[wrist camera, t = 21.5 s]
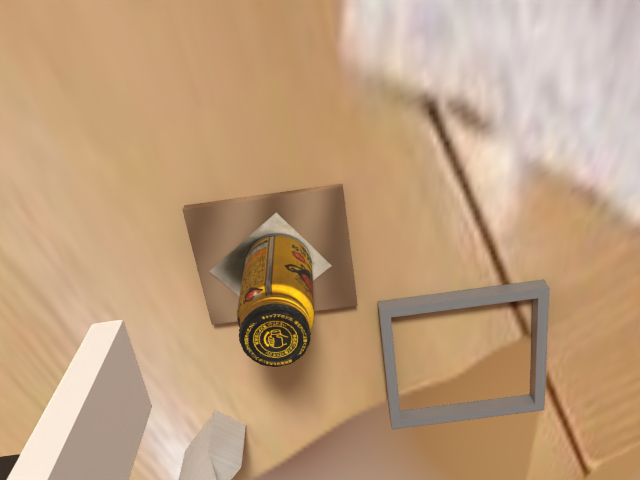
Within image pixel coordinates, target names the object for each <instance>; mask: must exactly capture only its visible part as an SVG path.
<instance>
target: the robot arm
mask: <svg viewBox="0 0 640 480" xmlns="http://www.w3.org/2000/svg"><path fill="white" fill-rule="evenodd" d="M151 408H152V405H151V402H150V399H149V396H148V393H147V390H146V387H145V384H144V381H143V378H142V375H141V372H140V369H139V366H138V363H137V360H136V357H135V354H134V351H133V348H132V345H131V342H130V339H129V336H128V333H127V330H126V327H125V324H124V321H123V320H118V321H111V322H103V323H95V324H92V326H91V327H90V329H89V331H88V333H87V335H86V337H85V338H84V340H83V342H82V344H81V346H80V347H79V349H78V351H77V353H76V355H75V357H74V358H73V360H72V362H71V364H70V366H69V367H68V369H67V371H66V373H65V375H64V377H63V378H62V380H61V382H60V384H59V386H58V387H57V389H56V391H55V393H54V395H53V396H52V398H51V400H50V402H49V404H48V406H47V407H46V409H45V411H44V413H43V415H42V416H41V418H40V420H39V422H38V424H37V426H36V427H35V429H34V431H33V433H32V435H31V436H30V438H29V440H28V442H27V444H26V446H25V447H24V449H23V451H22V453H21V454H19V455H11V456H3V457H0V480H129V477H130V473H131V470H132V467H133V464H134V461H135V458H136V455H137V452H138V448H139V445H140V442H141V439H142V436H143V433H144V430H145V427H146V424H147V420H148V417H149V414H150V411H151Z"/></svg>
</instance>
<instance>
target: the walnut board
mask: <svg viewBox="0 0 640 480" xmlns="http://www.w3.org/2000/svg"><path fill="white" fill-rule="evenodd" d="M275 213H277V214H278V215H279V216H280V217H281V218H283V219H284V220H285V221H286V222H287V223H288V224H289V225H290V226H291V227H292V228H293V229H294V230H295V231H297V232H298V233H299V234H300V235H301V236H302V237H303V238H304V239H305V240H306V241H307V242H308V243H309V244H310V245H311V246H312V247H313V248H314V249H315V250H316V251H317V252H318V253H319V254H320V255H321V256H322V257H323V258H324V259H325V260H326V261H327V262H328V263H329V264H330V265H331V266H332V267H330V268H328V269H327V270H326V271H325V272H323V273H322V274H321V275H320V276H318V277H317V278H316V279H315V280H313V298H314V310H315V311H320V310H327V309H335V308H343V307H350V306H357V298H356V290H355V281H354V273H353V265H352V257H351V249H350V241H349V233H348V225H347V217H346V209H345V201H344V193H343V186H342V184H338V185H331V186H324V187H317V188H309V189H302V190H295V191H288V192H280V193H273V194H266V195H259V196H251V197H244V198H237V199H229V200H222V201H215V202H208V203H200V204H193V205H186V206H184V208H183V214H184V218H185V222H186V226H187V229H188V233H189V237H190V241H191V245H192V249H193V253H194V257H195V261H196V265H197V268H198V272H199V276H200V280H201V284H202V288H203V292H204V296H205V300H206V304H207V308H208V311H209V315H210V319H211V323H212V325H214V324H221V323H229V322H236V321H238V320H237V309H238V302H239V296H238V295H237V294H236V293H235V292H234V291H232V290H231V289H230V288H229V287H228V286H226V285H225V284H224V283H223V282H222V281H220V280H219V279H218V278H217V277H215V276H214V275H213V274H212V273H210V272H209V271H210V270H211V269H212V268H214V267H215V266H216V265H217V264H218V263H219V262H220V261H221V260H222V259H224V258H225V257H226V256H227V255H228V254H229V253H231V252H232V251H233V250H234V249H235V248H237V247H238V246H239V245H240V244H241V243H242V242H243V241H244V240H245V239H246V238H247V237H249V236H250V235H251V234H252V233H253V232H254V231H255V230H257V229H258V228H259V227H260V226H261V225H262V224H263V223H265V222H266V221H267V220H268V219H269V218H271V217H272V216H273V215H274V214H275Z"/></svg>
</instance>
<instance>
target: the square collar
mask: <svg viewBox="0 0 640 480" xmlns="http://www.w3.org/2000/svg"><path fill="white" fill-rule="evenodd" d="M528 299H533V300H532V335H531V370H530V394H529V395H521V396H514V397H505V398H498V399H489V400H482V401H474V402H466V403H458V404H450V405H442V406H435V407H426V408H419V409H411V410H403V411H400V407H399V396H398V385H397V375H396V365H395V354H394V344H393V333H392V323H391V317H399V316H406V315H414V314H421V313H429V312H437V311H444V310H452V309H460V308H467V307H475V306H482V305H490V304H498V303H505V302H513V301H521V300H528ZM548 309H549V286H548V285H547V284H546V282H545V281H544V280H538V281H530V282H523V283H515V284H507V285H500V286H492V287H485V288H477V289H469V290H462V291H454V292H447V293H439V294H432V295H424V296H416V297H409V298H401V299H394V300H386V301H379V302H378V310H379V319H380V328H381V338H382V347H383V357H384V366H385V375H386V385H387V394H388V404H389V413H390V421H391V426H392V429H399V428H406V427H415V426H423V425H431V424H438V423H447V422H454V421H462V420H470V419H478V418H486V417H493V416H501V415H510V414H518V413H526V412H534V411H542V410H544V403H545V379H546V356H547V333H548Z"/></svg>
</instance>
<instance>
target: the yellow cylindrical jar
mask: <svg viewBox="0 0 640 480" xmlns="http://www.w3.org/2000/svg"><path fill="white" fill-rule="evenodd" d="M330 267H332V266H331V265H330V264H329V263H328V262H327V261H326V260H325V259H324V258H323V257H322V256H321V255H320V254H319V253H318V252H317V251H316V250H315V249H314V248H313V247H312V246H311V245H310V244H309V243H308V242H307V241H306V240H305V239H304V238H303V237H302V236H301V235H300V234H299V233H298V232H297V231H295V230H294V229H293V228H292V227H291V226H290V225H289V224H288V223H287V222H286V221H285V220H284V219H283V218H281V217H280V216H279V215H278V214H277V213H275V214H274V215H273V216H272V217H271V218H269V219H268V220H267V221H266V222H265V223H263V224H262V225H261V226H260V227H259V228H258V229H257V230H255V231H254V232H253V233H252V234H251V235H250V236H249V237H247V238H246V239H245V240H244V241H243V242H242V243H241V244H240V245H239V246H238V247H237V248H235V249H234V250H233V251H232V252H231V253H229V254H228V255H227V256H226V257H225V258H224V259H222V260H221V261H220V262H219V263H218V264H217V265H216V266H215V267H214V268H212V269H211V270H210V271H209V272H210V273H212V274H213V275H214V276H215V277H217V278H218V279H219V280H220V281H222V282H223V283H224V284H225V285H226V286H228V287H229V288H230V289H231V290H232V291H234V292H235V293H236V294H237V295H238V296H239V302H238V309H237V320H238V324H239V327H240V329H239V332H240V333H239V341H240V343H241V346H242V348H243V350H244V352H245V353H246V354H247V355H248V356H249V357H250V358H251V359H252V360H254V361H255V362H257V363H259V364H261V365H266V366H272V367H278V366H283V365H287V364H291V363H293V362H295V361H296V360H297V359H299V358H300V357H301V356H302V355H303V354H304V353H305V351H306V349H307V347H308V345H309V342H310V335H311V334H310V330H311V328H312V326H313V322H314V313H315V310H314V298H313V280H315V279H316V278H317V277H318V276H320V275H321V274H322V273H323V272H325V271H326V270H327V269H328V268H330Z"/></svg>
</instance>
